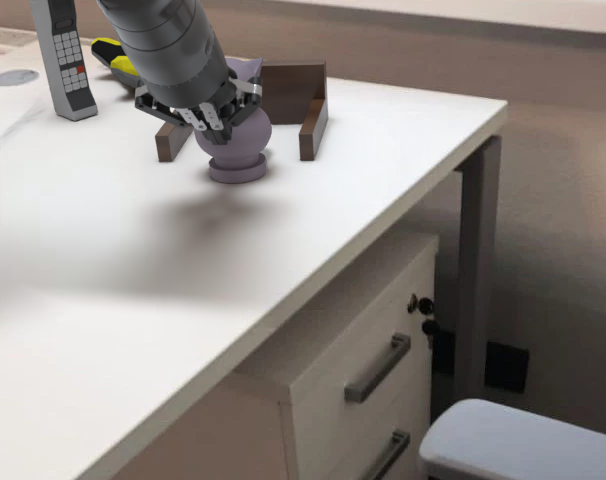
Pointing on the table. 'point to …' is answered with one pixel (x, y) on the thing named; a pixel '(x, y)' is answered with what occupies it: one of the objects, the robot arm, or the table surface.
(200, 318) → the table surface
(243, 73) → the cat figurine
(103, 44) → the black and yellow sneaker
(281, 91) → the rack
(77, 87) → the vintage mobile phone
